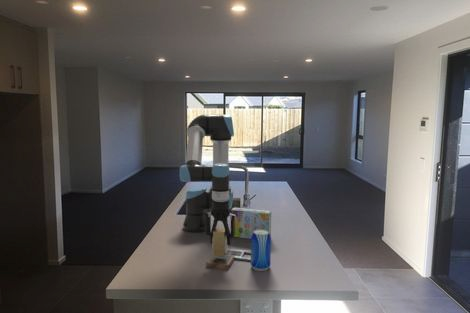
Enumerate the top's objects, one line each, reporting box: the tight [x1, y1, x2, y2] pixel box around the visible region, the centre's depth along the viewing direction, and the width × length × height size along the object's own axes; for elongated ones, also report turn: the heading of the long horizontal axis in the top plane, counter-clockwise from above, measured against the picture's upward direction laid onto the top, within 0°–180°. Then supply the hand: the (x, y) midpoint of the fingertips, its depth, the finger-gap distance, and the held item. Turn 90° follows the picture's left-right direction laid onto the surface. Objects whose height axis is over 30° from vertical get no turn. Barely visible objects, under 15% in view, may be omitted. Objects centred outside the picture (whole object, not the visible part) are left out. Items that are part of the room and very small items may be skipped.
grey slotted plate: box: [226, 248, 251, 262], centre depth 163 cm, size 20×9×1 cm, turn 75°
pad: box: [205, 253, 235, 271], centre depth 156 cm, size 10×10×2 cm
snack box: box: [230, 207, 272, 240], centre depth 186 cm, size 21×6×15 cm, turn 71°
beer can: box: [250, 229, 272, 272], centre depth 151 cm, size 8×8×16 cm
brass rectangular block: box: [212, 227, 227, 257], centre depth 154 cm, size 5×5×11 cm
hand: (220, 251), depth 155 cm, fingers closed on brass rectangular block, 5 cm apart
